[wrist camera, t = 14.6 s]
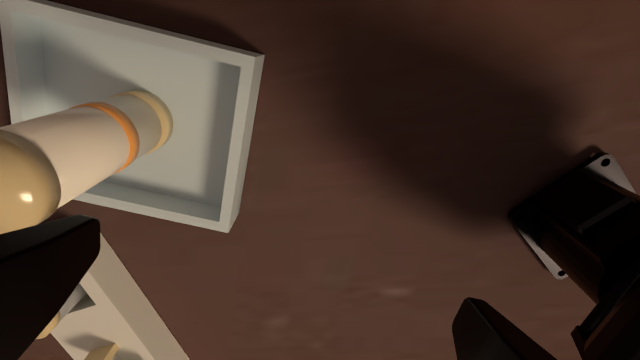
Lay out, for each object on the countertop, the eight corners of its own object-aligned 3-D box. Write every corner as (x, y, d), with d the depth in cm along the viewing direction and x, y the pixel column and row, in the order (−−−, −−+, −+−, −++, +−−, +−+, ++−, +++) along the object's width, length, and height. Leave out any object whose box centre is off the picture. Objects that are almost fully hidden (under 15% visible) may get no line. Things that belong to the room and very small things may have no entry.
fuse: (106, 271, 24) (58, 321, 20) (89, 294, 25) (39, 346, 21) (70, 249, 23) (13, 295, 19) (54, 273, 24) (-4, 322, 20)
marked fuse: (180, 145, 20) (51, 237, 11) (125, 152, 20) (-47, 247, 11) (162, 85, 19) (-2, 131, 10) (104, 94, 19) (-111, 146, 10)
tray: (264, 54, 19) (255, 57, 16) (238, 213, 22) (228, 232, 20) (39, -2, 18) (-4, -8, 16) (51, 171, 22) (18, 187, 19)
